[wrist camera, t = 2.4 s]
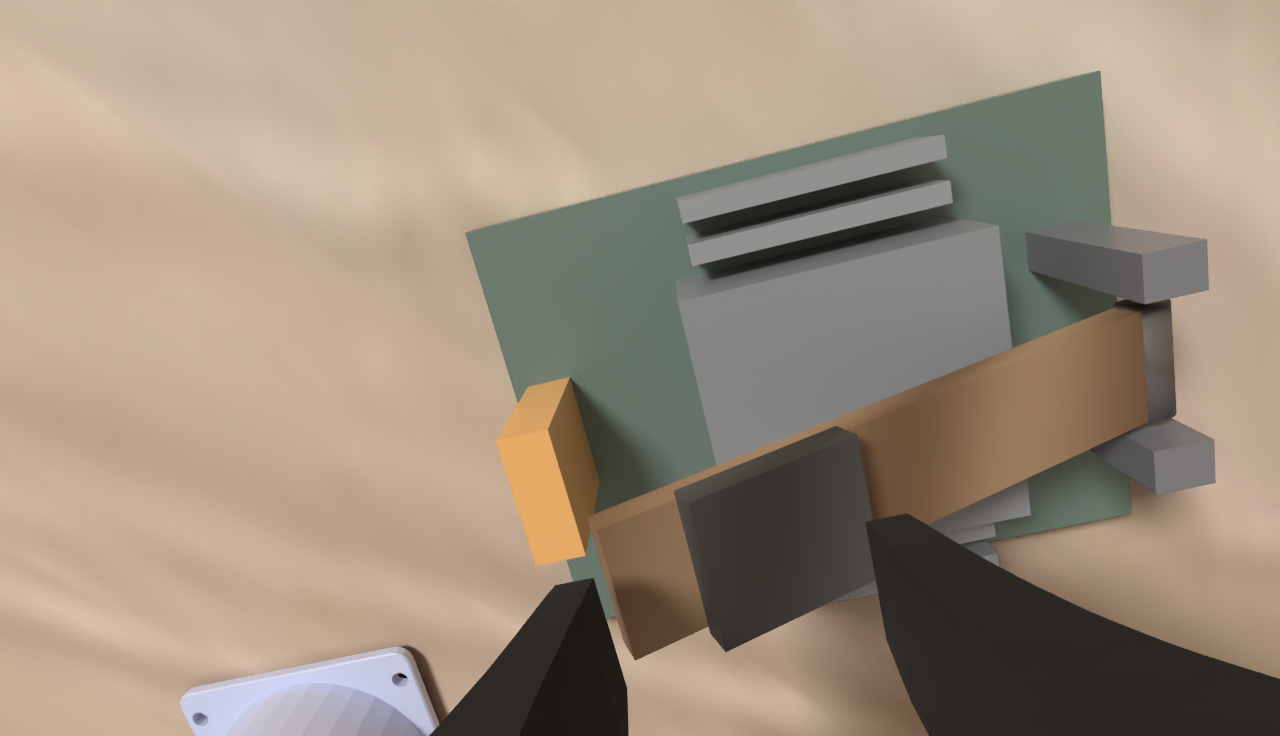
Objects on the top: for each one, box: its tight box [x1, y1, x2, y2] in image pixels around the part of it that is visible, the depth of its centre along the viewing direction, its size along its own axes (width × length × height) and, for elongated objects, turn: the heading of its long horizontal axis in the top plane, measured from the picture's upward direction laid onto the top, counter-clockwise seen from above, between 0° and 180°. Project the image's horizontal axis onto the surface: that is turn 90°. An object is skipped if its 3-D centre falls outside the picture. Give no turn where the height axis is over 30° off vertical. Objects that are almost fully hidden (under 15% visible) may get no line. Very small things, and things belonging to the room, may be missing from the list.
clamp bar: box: [587, 299, 1176, 660], centre depth 14 cm, size 13×3×1 cm, turn 104°
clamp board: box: [465, 71, 1216, 618], centre depth 18 cm, size 12×16×6 cm
